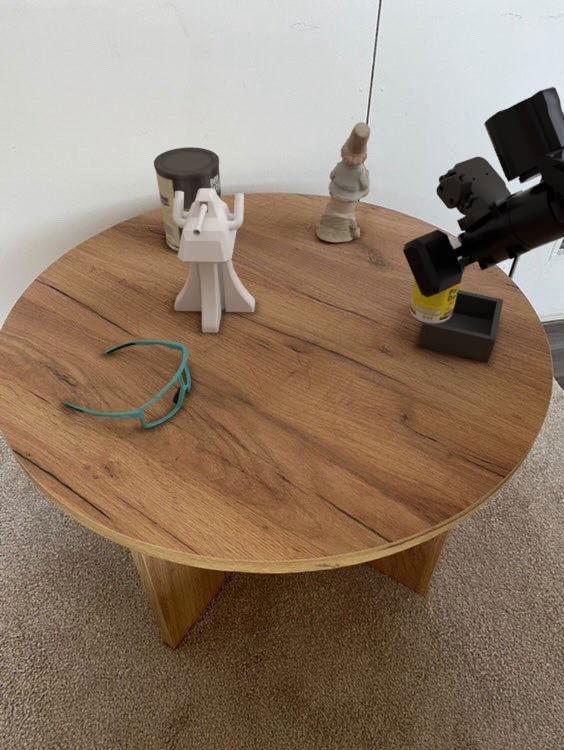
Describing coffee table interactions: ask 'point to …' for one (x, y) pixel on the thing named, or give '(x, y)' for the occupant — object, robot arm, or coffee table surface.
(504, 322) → the coffee table surface
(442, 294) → the supplement bottle
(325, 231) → the figurine
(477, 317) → the dark square open box
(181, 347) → the sunglasses
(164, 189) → the coffee can
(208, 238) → the toy gun turret
